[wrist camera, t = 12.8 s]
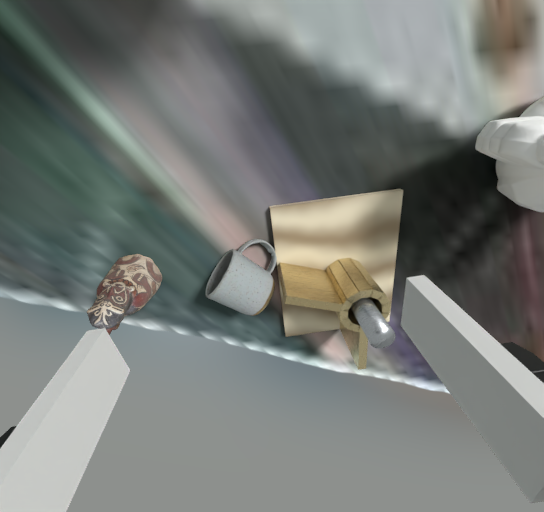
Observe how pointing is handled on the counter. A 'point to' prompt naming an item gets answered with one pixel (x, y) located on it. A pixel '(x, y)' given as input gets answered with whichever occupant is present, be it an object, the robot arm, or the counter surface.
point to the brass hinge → (335, 296)
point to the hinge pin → (373, 323)
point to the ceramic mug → (242, 281)
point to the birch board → (336, 245)
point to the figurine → (124, 291)
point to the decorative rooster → (518, 155)
